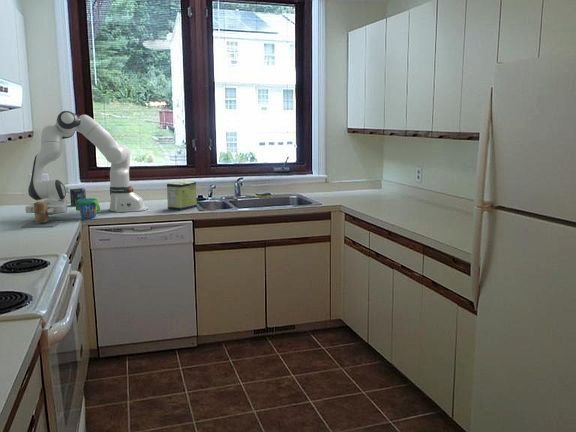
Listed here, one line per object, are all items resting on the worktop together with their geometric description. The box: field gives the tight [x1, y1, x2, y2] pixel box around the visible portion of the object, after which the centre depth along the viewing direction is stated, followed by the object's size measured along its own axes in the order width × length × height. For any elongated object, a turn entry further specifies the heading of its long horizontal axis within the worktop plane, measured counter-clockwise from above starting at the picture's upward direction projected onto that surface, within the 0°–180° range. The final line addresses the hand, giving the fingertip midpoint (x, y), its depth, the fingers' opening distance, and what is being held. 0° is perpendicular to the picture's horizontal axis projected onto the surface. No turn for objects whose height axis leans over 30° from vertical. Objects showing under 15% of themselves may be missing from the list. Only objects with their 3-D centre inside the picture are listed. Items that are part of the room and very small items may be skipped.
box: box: [69, 187, 87, 208], centre depth 354 cm, size 8×6×11 cm
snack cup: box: [75, 197, 101, 219], centre depth 313 cm, size 16×10×10 cm
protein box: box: [166, 180, 198, 211], centre depth 343 cm, size 10×16×16 cm
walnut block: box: [33, 201, 50, 222], centre depth 294 cm, size 5×5×10 cm
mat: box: [21, 220, 63, 229], centre depth 295 cm, size 16×14×1 cm
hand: (40, 211), depth 293 cm, fingers closed on walnut block, 5 cm apart
